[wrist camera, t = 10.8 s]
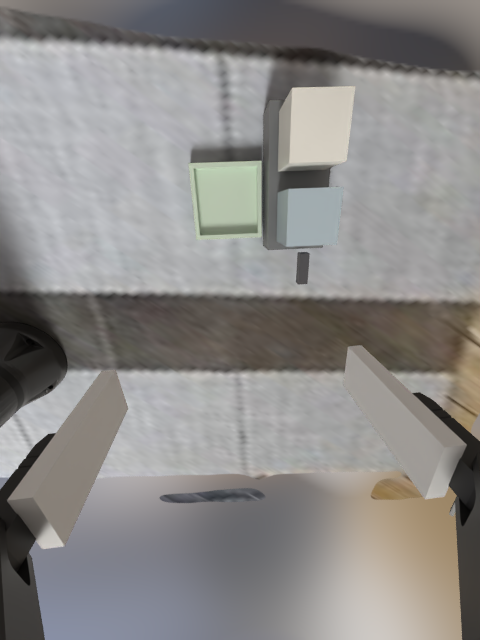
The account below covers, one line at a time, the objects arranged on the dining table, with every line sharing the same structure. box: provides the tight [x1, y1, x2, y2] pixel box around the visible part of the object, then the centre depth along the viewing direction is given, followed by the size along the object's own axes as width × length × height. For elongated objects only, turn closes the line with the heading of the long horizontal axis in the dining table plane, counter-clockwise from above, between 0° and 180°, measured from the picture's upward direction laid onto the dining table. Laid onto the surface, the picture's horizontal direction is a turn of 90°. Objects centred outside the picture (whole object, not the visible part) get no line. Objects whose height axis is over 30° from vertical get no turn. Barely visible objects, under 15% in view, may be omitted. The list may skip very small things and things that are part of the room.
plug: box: [278, 86, 355, 171], centre depth 29 cm, size 6×6×11 cm
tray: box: [189, 161, 262, 240], centre depth 37 cm, size 10×10×2 cm
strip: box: [263, 100, 344, 284], centre depth 32 cm, size 8×21×12 cm, turn 2°
